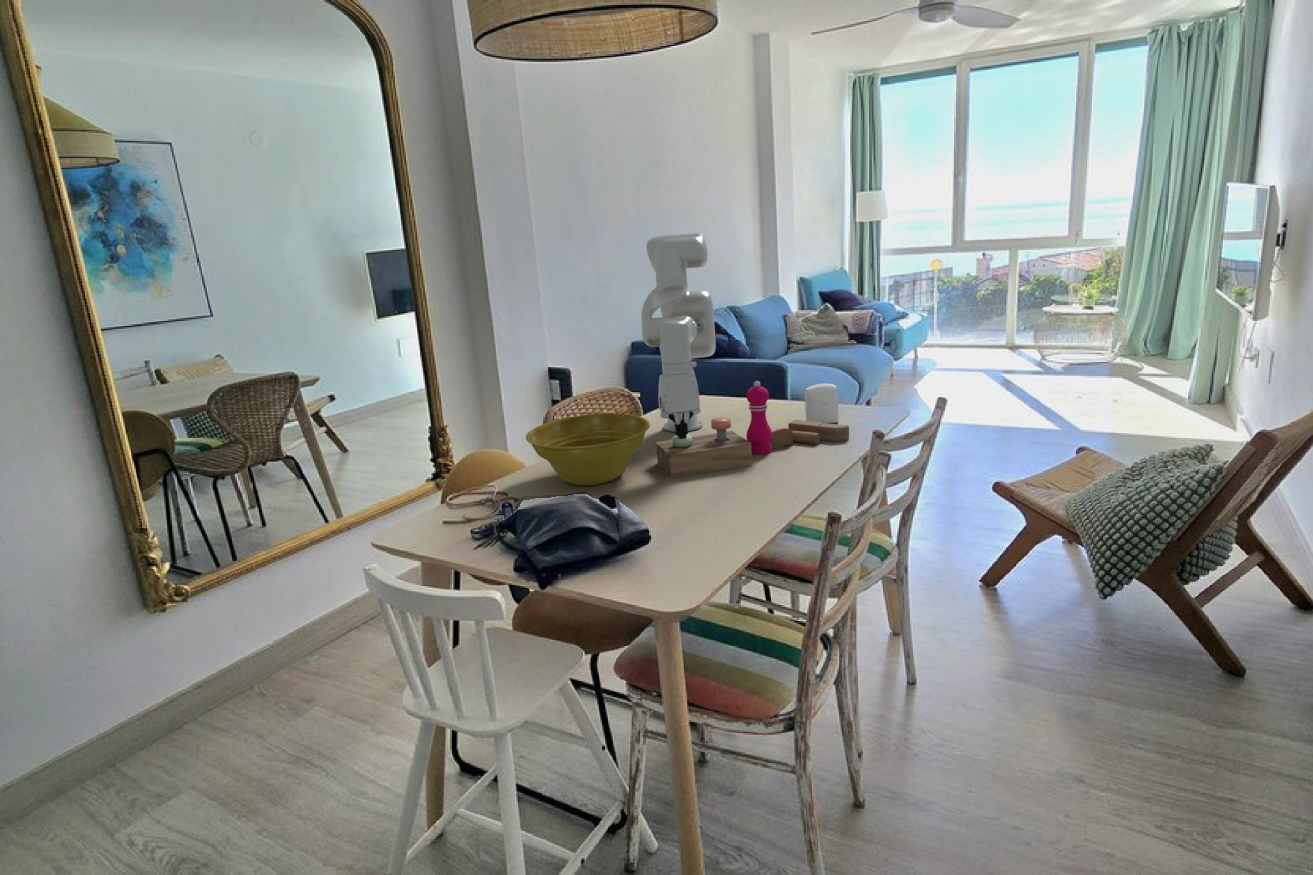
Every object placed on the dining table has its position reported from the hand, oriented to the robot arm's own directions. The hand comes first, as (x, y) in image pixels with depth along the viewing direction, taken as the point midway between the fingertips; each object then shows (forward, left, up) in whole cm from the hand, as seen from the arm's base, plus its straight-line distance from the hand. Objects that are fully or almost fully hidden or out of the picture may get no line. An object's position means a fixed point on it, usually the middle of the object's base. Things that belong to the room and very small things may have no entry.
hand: (682, 437), depth 198 cm
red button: (0, +11, -4) cm, 12 cm away
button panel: (0, +6, -8) cm, 10 cm away
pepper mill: (-3, +23, -9) cm, 25 cm away
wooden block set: (-4, +38, -9) cm, 39 cm away
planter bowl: (-4, -24, -9) cm, 26 cm away
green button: (0, 0, -7) cm, 8 cm away
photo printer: (-21, +51, -9) cm, 56 cm away
